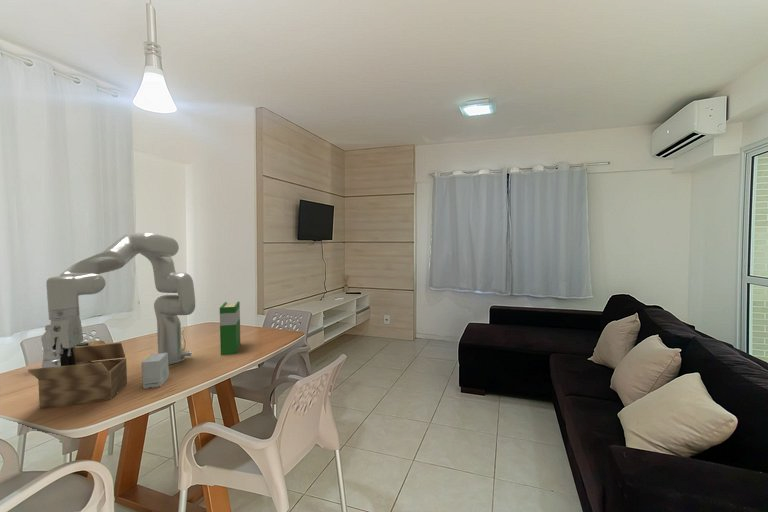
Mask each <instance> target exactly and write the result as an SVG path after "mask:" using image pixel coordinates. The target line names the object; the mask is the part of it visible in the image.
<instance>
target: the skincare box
mask: <svg viewBox="0 0 768 512" xmlns="http://www.w3.org/2000/svg"><path fill="white" fill-rule="evenodd" d="M169 368H170V367H169V365H168V353H161V354H158V353H153V354H150V355H149V356H148V357H147V358H145V360H143V361H141V373H142V374H141V375H142V376H141V377H142V389H150V388H149V387H152V388H160V387H159V386H161V387H162V386H163V385H164V383H165V382H166V381H167V380H168V379H169V378H170V369H169ZM168 377H169V378H168ZM162 384H163V385H162Z"/></svg>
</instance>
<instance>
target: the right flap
mask: <svg viewBox="0 0 768 512" xmlns="http://www.w3.org/2000/svg"><path fill="white" fill-rule="evenodd" d="M124 358H126V354H125V351H124V347H123V343H122V342H115V343H114V342H113V343H106V344H100V345H88V346H77V347H75V363H77V362H87V361H92V362H94V361H104V360H114V359H124Z"/></svg>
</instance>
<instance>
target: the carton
mask: <svg viewBox="0 0 768 512" xmlns="http://www.w3.org/2000/svg"><path fill="white" fill-rule="evenodd" d="M97 362H102V364H103V365H104V366H105V367H106V369H107V370H108V371H109V372H108V373H101V374H92V375H83V376H74V377H65V378H56V379H47V380H38V379H37V380H38V403H39V406H38V407H39V410H42V409H51V408H58V407H65V406H71V405H73V406H74V405H80V403H81V404H87V402H89V403H95V402H102V401H103V400H104V401H110V400H109V399H111V400H112V399H114V397H115V396H117V394H118V393H119V392H120V391H121V390H122V389H123V388H122V387H123V386H124V385H125V386H126V385H127V383H128V373H127V372H128V369H127V365H128V364H127V357H125V358H117V359H107V360H97V361H92V362H84V363H75V365H77V364H87V363H97ZM121 388H122V389H121ZM120 389H121V390H120ZM119 390H120V391H119ZM118 391H119V392H118ZM117 392H118V393H117Z"/></svg>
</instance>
